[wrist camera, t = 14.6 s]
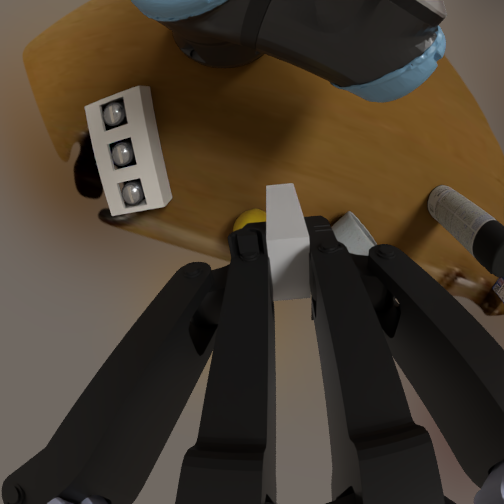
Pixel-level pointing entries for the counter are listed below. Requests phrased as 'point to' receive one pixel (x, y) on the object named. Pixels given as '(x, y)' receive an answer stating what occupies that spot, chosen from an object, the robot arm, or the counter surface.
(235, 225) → the apple
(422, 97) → the counter surface
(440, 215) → the spray can
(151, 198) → the console
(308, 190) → the counter surface
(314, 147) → the counter surface
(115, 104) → the knob
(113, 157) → the knob mid
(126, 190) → the knob
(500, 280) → the beverage box
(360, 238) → the ceramic mug
